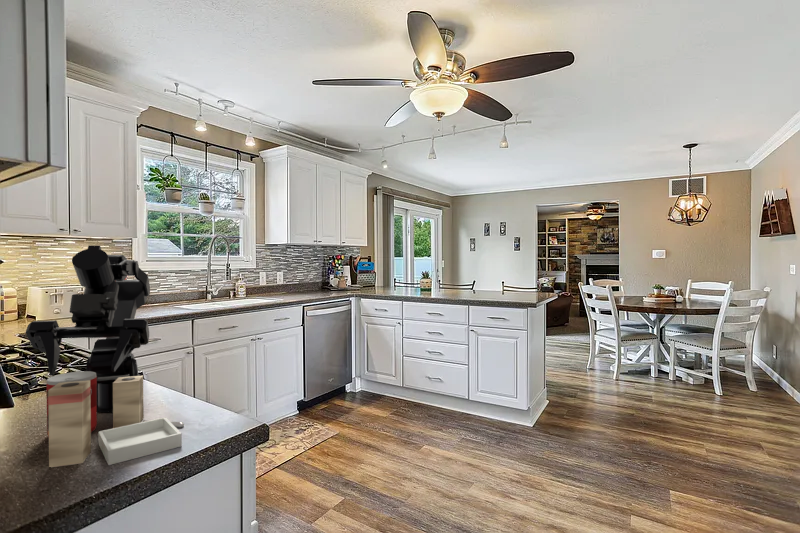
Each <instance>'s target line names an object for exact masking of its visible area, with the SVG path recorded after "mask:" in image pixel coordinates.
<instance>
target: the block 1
mask: <svg viewBox="0 0 800 533" xmlns="http://www.w3.org/2000/svg"><path fill="white" fill-rule="evenodd" d="M90 394H91V386H90V380H87V381H75V382H63V383H58V384H57V385H55V386H54V387H52V388H51V389H49V390H48V406H49V437H48V468H49V467H51V468H58V467H63V466H71V465H77V464H78V465H79V464H80V465H81V464H83V463H85V460H87V458H88V457H89V455H90V454H91V453H92V432H91V395H90Z"/></svg>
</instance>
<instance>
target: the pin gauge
mask: <svg viewBox="0 0 800 533" xmlns="http://www.w3.org/2000/svg"><path fill="white" fill-rule="evenodd" d="M145 421H148V419H147V420H142V422H145ZM170 422H171V423H172V424H173V425H174V426H175V427H176V428H177V429H182V428H184V427H183V426H185V423H184V422H182V421H170ZM181 427H182V428H181Z"/></svg>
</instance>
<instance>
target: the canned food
mask: <svg viewBox="0 0 800 533" xmlns="http://www.w3.org/2000/svg"><path fill="white" fill-rule="evenodd" d="M87 380H90V386H91V394H90V395H91V433H93V432H94V431H95V430H96V428H97V426H98V412H97V376H96V373H95V372H91V371H87V370H84V371H82V370H81V371H72V372H66V373H65V372H64V373H60V374H56V375H53V376H50V377H48V378H47V379H46V433H47V434H46V435H47V437H48V438H49V406H48V390H49V389H51V388H52V387H54V386H55V385H57V384H58V383H63V382H75V381H87Z"/></svg>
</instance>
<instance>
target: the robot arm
mask: <svg viewBox="0 0 800 533" xmlns="http://www.w3.org/2000/svg"><path fill="white" fill-rule="evenodd" d="M71 262H72V266H73V268H74V271H75V274H76V277H77V278H78V282H79V284H80V286H81V287H84V292H83V293H78V294H77V293H75V294H72V295H71V298H70V307H69V313H71V314H72V317H71V322H72V323H73V324H74V326H63V327H60V326H59V324H58V320H54V319H53V320H51V319H50V320H33V321H31V322H30V323H29V324H28V325H27V327H26V330H25V335H26V336H27V339H28V340H29V343H30V344H31V347H32V348H33V349H36V350H39V351H40V352H41V353H45V355H46V362H47V367H48V373H49V376H50V377H53V376H55V373H56V371H57V368H58V363H59V359H60V355H61V351H62V350H61V348H60V346H61V344H62V341H63V339H85V338H87V339H97V340H96V341H95V342H94V345H93V349H92V350H91V354H90V356H88V357H87V359H86V368H85V369H86V371H91V372H95V373H96V376H97V413H113V382H114V381H115V380H116V379H117V378H119V377H131V376H139V367H138V363H137V359H135V355H134V354H133V353H132V352H133V351H134V350H135V349H139V348H141V346H142V345H143V346H144V345H145V346H146V345H148V344H149V339H150V329H149V322H148V320H147V319H146V318H143V317H142V318H140V317H139V318H137V317H136V313H137V310H138V309H140V307H143V306H144V305H145V304H146V302H147V299H148V297H150V295H151V285H150V280H149V275H148V274H146V272H145V271H144V270H142V269H141V268H140V267H139V262H138V260H135V259H127V257H126V256H125V255H124V254H108V253H107V252H105V251H104V250H102V247H101V245H91V244H90V245H88V246H87V249H83V250H81V251H78V252H77V253H75V255H73V256H72V259H71ZM133 276H134V278H135V279H127V278H128V277H133ZM135 317H136V318H135Z"/></svg>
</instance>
